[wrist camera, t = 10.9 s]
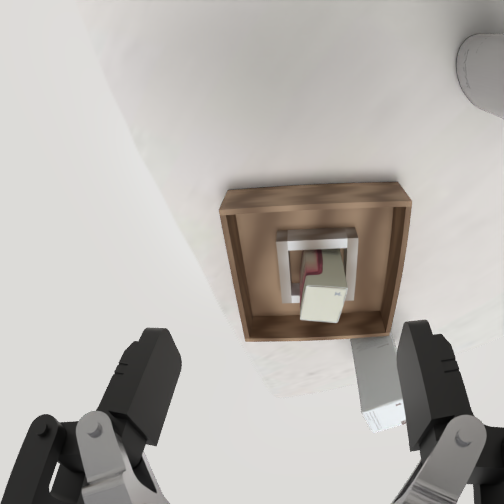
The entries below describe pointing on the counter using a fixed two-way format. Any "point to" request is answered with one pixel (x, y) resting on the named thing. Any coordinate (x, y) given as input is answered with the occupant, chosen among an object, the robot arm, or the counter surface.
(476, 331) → the counter surface
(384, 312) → the crate
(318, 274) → the small box
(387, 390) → the skincare box
